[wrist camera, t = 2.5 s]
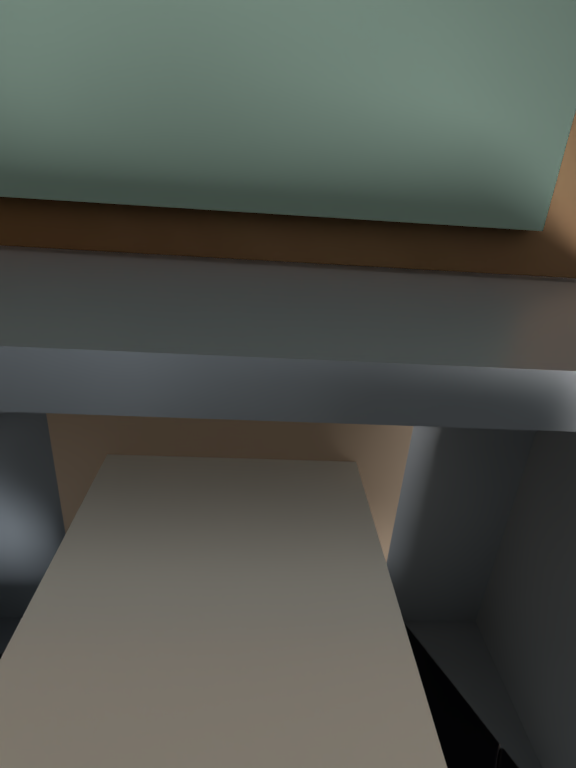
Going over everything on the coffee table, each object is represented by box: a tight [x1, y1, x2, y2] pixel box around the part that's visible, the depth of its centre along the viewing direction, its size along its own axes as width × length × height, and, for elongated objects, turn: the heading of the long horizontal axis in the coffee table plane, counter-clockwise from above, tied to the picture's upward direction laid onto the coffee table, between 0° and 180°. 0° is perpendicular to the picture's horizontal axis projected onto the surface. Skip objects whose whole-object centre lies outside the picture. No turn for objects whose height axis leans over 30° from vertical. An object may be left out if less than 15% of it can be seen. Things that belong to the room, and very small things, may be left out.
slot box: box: [0, 245, 576, 768], centre depth 10 cm, size 16×11×6 cm
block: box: [0, 454, 447, 768], centre depth 7 cm, size 4×5×6 cm
